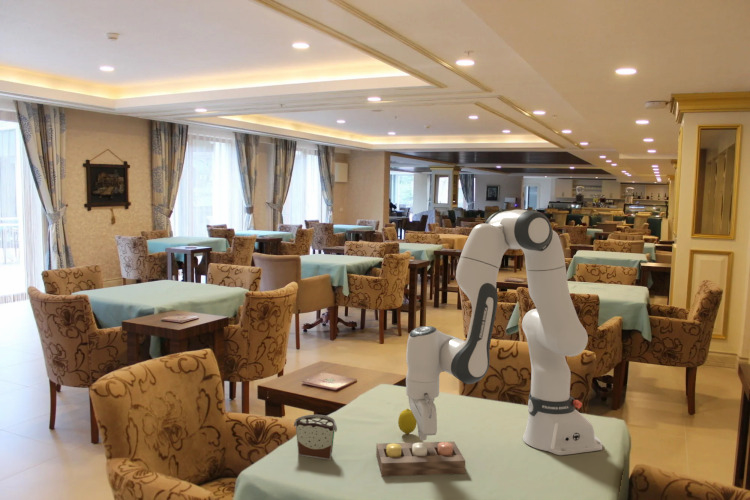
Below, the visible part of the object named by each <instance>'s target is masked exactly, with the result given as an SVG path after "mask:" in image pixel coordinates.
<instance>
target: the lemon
mask: <svg viewBox="0 0 750 500" xmlns="http://www.w3.org/2000/svg"><path fill="white" fill-rule="evenodd" d="M397 423H398V427H399V430H400V432H402V433H405V435H409V434H410V433H412V432H414V431H415V429H416V428H417V421H416V419H415V417H414V415H413V413H412V411H411V409H410V408H406V409H403V410H402V411H401V412H400V413H399V416H398V422H397Z"/></svg>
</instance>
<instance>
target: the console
mask: <svg viewBox="0 0 750 500" xmlns="http://www.w3.org/2000/svg"><path fill="white" fill-rule="evenodd" d="M441 442H442V441H430V442H429V441H425V442H424V441H420V442H419V441H417V443H424V444H426V445H427V456H412V445H413V444H414V443H415V442H394V443H395V444H399V445H401V446H402V449H401V457H386V450H387V445H388V444H392V443H391V442H387V443H386V442H385V443H382V442H381V443H376V446H375V447H376V448H375V449H376V450H375V451H376V453H375V455H376V459H377V464H378V467H379V472H380V475H381V477H398V476H399V477H400V476H401V477H402V476H404V477H405V476H430V475H431V476H433V475H455V474H456V475H460V474H461V475H463V474H466V459H465V458H464V455H463V454H462V452H461V450H460V449H459V447H458V446H457V443H456V442H455V441H447V442H448V443H451V444H452V445H453V455H439V456H438V444H439V443H441Z"/></svg>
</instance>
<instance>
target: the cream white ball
mask: <svg viewBox="0 0 750 500" xmlns="http://www.w3.org/2000/svg"><path fill="white" fill-rule="evenodd" d="M413 443H414V444H413V445H412V456H427V445H426V444H424V443H418V442H413Z"/></svg>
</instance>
